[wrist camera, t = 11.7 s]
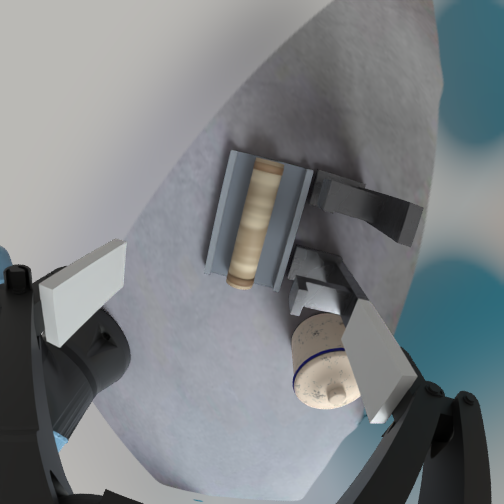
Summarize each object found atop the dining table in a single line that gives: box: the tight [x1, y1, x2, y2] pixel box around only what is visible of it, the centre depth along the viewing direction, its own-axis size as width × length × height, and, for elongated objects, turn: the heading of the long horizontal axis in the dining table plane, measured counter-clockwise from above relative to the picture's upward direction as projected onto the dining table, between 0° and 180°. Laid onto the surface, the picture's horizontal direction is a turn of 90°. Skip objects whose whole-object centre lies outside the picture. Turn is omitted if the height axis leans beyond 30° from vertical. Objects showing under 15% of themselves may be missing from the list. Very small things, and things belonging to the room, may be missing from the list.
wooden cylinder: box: [226, 157, 284, 290], centre depth 31 cm, size 14×3×3 cm, turn 166°
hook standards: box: [287, 169, 423, 328], centre depth 26 cm, size 6×13×14 cm, turn 167°
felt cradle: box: [204, 150, 313, 292], centre depth 32 cm, size 9×14×2 cm, turn 166°
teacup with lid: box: [291, 313, 361, 409], centre depth 31 cm, size 12×9×12 cm
